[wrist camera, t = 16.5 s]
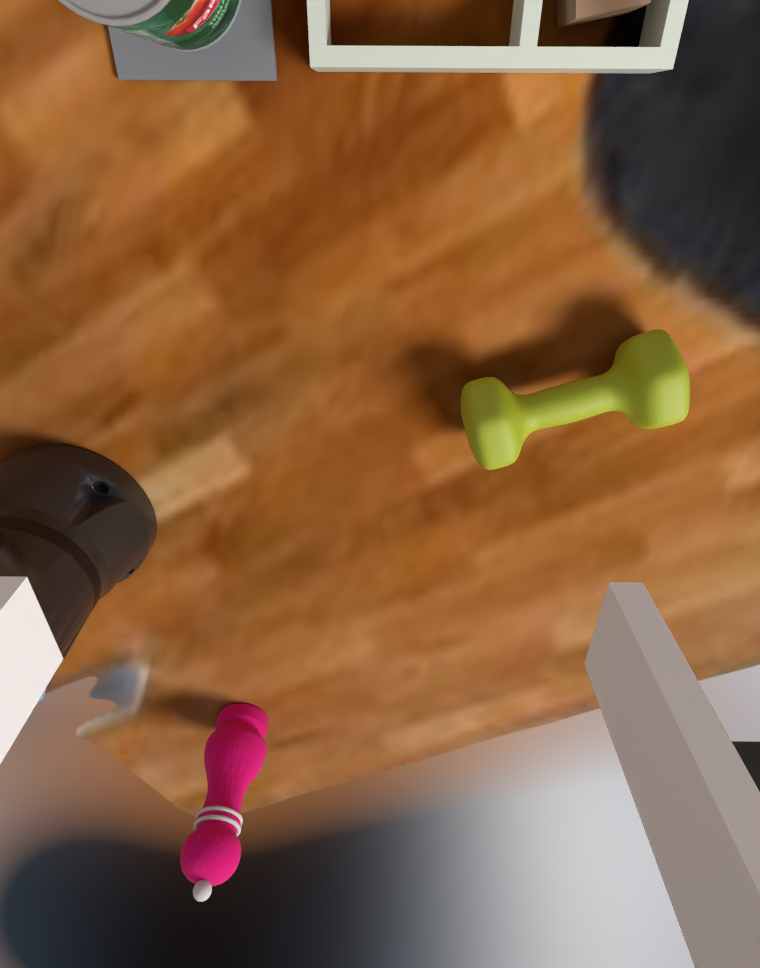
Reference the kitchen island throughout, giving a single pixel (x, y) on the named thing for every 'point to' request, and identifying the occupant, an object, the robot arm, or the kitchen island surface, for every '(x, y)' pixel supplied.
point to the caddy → (505, 48)
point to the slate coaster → (205, 52)
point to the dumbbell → (579, 399)
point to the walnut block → (594, 10)
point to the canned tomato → (164, 19)
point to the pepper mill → (224, 796)
